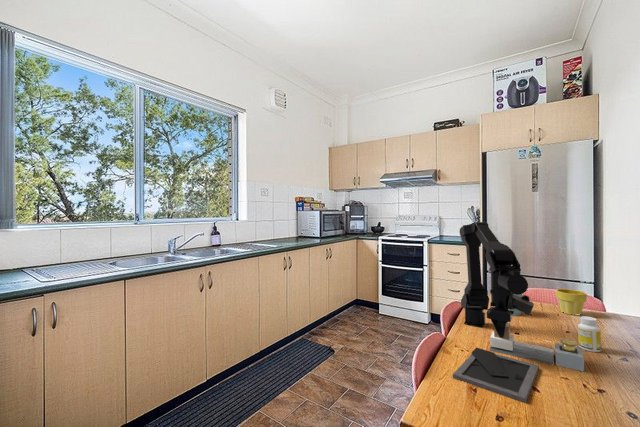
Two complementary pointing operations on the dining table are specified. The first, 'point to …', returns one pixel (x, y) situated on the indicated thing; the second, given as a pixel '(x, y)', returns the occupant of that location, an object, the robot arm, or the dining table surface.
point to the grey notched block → (569, 358)
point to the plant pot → (571, 300)
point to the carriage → (502, 339)
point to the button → (568, 345)
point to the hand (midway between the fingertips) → (502, 335)
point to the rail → (532, 357)
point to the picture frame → (498, 374)
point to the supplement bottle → (589, 334)
